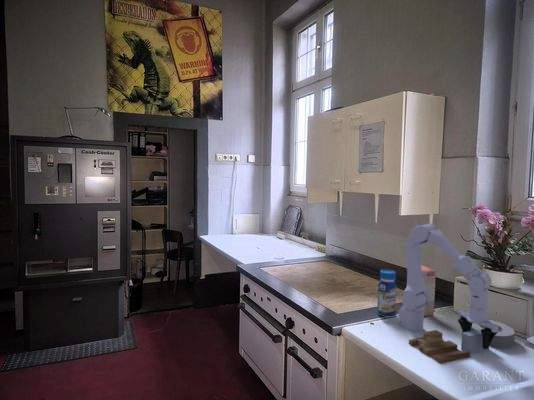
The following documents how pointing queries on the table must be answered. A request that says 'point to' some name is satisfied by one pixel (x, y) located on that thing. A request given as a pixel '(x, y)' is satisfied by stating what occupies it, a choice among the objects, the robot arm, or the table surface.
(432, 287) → the cracker box
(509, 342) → the tape roll
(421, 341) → the block
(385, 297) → the beverage bottle
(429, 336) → the offcut short
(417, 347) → the rack
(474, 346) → the blue-grey rectangular block
